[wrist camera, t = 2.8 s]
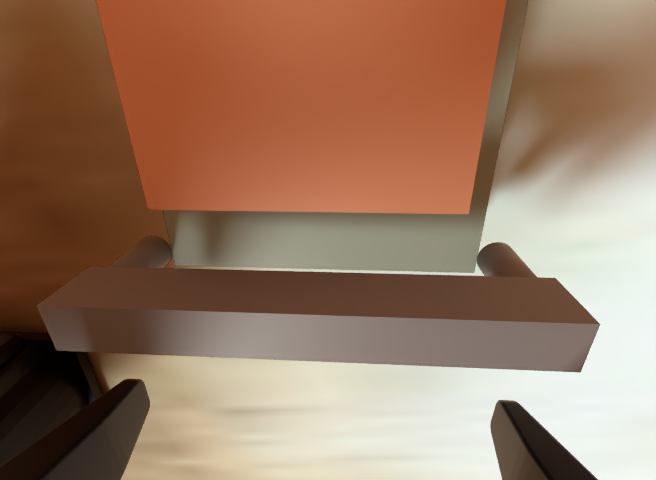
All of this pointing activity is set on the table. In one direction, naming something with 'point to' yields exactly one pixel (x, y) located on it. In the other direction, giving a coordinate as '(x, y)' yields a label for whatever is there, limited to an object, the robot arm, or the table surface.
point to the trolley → (319, 189)
